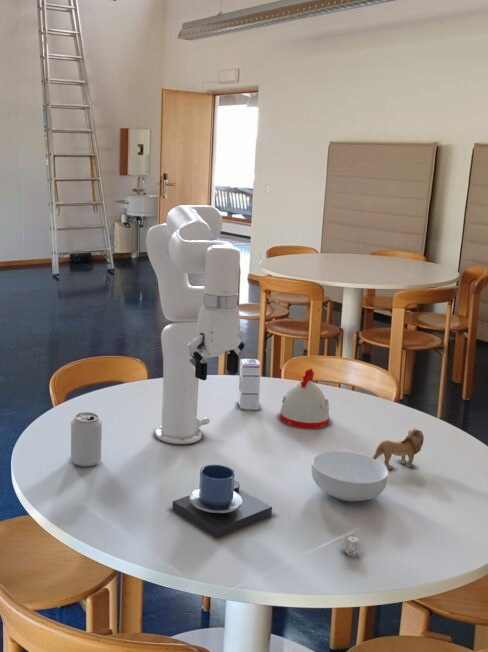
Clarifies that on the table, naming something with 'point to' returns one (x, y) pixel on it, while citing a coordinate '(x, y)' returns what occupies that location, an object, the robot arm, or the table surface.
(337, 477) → the cereal bowl
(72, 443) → the can
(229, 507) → the pan
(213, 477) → the blue cup
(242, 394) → the syrup box
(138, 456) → the table surface
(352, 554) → the game die
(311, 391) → the kitchen timer
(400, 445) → the lion figurine
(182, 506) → the scale
